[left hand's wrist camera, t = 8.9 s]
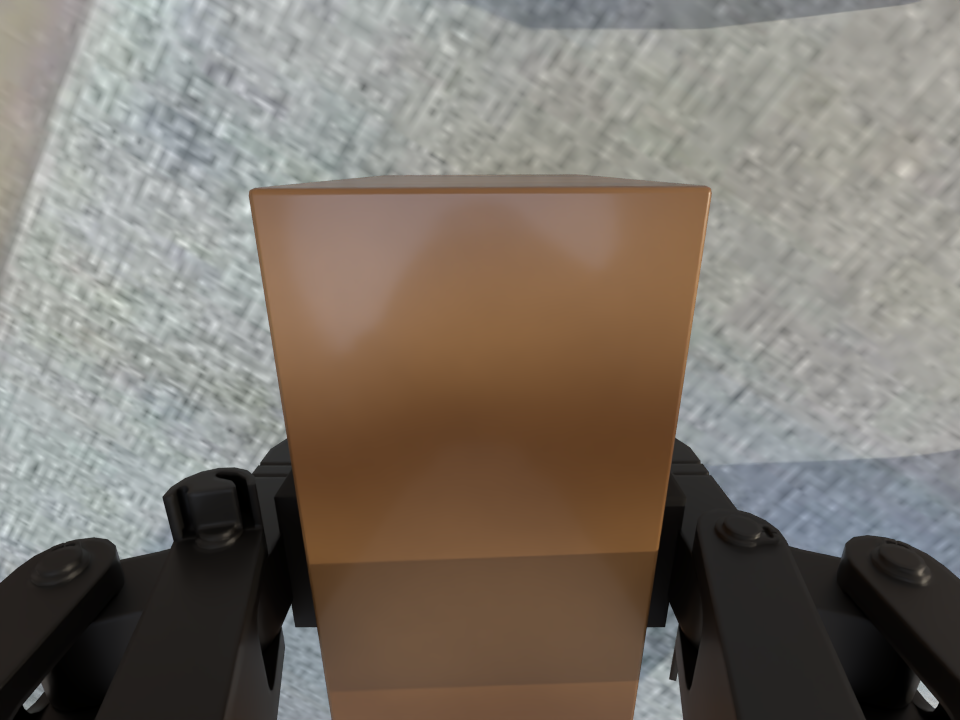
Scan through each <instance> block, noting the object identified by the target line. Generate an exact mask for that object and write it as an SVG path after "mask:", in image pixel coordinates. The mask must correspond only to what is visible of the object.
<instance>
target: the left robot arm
mask: <svg viewBox="0 0 960 720" xmlns="http://www.w3.org/2000/svg"><path fill="white" fill-rule="evenodd" d="M163 501H164V505H165V509H166V513H167V517H168V521H169V525H170V528H171V532H172V536H173V540H174V542H173V544H172V546H171V549H167V550H163V551H160V552H155V553H151V554H146V555H141V556H136V557H131V558H127V559H122V560H120V559H119V555H118V552H117V549H116V546H115V545H114V544H113V543H112V542H110V541H109V540H108V539H102V538H95V537H93V538H85V539H77V540H72V541H68V542H66V543H61V544H59V545H56V546H53V547H51V548H50V549H48V550H46V551H44V552H42V553H40V554H37V555H35V556H34V557H32V558H31V559H29V560H28V561H27V562H25V563H24V564H22V565H21V566H20V567H18V568H17V569H16V570H15V571H13V572H12V573H11V574H10V575H9V576H8V577H7V578H5V579H4V580H3V581H2V582H1V583H0V720H277V714H278V705H279V696H280V687H281V678H282V669H283V660H284V651H285V644H284V637H283V631H282V624H283V622H284V620H285V617H286V615H287V613H288V610H289V608H290V606H291V604H292V610H293V616H294V622H295V627H317V623H316V617H315V611H314V604H313V598H312V592H311V585H310V579H309V573H308V566H307V560H306V554H305V547H304V541H303V535H302V528H301V522H300V516H299V509H298V503H297V497H296V490H295V484H294V478H293V472H292V465H291V459H290V453H289V446H288V440H287V439H285V440H284V441H282V442H281V443H279V444H278V445H276V446H275V447H273V448H272V449H270V451H269V452H268V453H267V455H266V456H265V457H264V459H263V460H262V461H261V463H260V466H258V467H257V468H256V469H255V471H254V472H253V473H252V474H251V473H250V472H249V471H248V470H244V469H239V468H235V467H234V468H217V469H212V470H207V471H203V472H200V473H197V474H195V475H192V476H190V477H187V478H185V479H183V480H181V481H180V482H178V483H177V484H175V485H174V486H172V487H171V488H170V489H169V490H168V491H167V492H166V493H165V495H164V496H163ZM669 602H670V605H671V607H672V609H673V611H674V614H675V616H676V618H677V621H678V623H679V626H678V631H677V637H676V642H675V648H674V653H673V659H672V665H671V671H670V677H669V679H670V680H674V681H676V679H677V673H678V677H679V686H680V695H681V704H682V713H683V720H960V579H959V578H958V577H957V576H955V575H954V574H953V573H952V572H951V571H950V570H948V569H947V568H946V567H945V566H944V565H942V564H941V563H939V562H938V561H937V560H935V559H934V558H932V557H931V556H929V555H928V554H927V553H924V552H922V551H920V550H918V549H916V548H914V547H912V546H910V545H909V544H906V543H903V542H901V541H895V540H894V539H890V538H886V537H878V536H870V535H865V536H858V537H853V538H852V539H851V540H849V541H848V542H847V543H846V544H845V547H844V551H843V554H842V557H841V558H840V557H835V556H830V555H825V554H820V553H816V552H811V551H806V550H801V549H798V548H794V547H790V546H788V543H787V541H786V540H785V538H784V537H783V536H782V534H781V533H780V531H779V530H778V529H776V528H775V527H774V526H772V525H771V524H770V523H768V522H767V521H766V520H764V519H761V518H759V517H757V516H755V515H753V514H750V513H747V512H743V511H739V510H737V509H736V507H735V506H734V505H733V503H732V502H731V501H730V499H729V498H728V497H727V496H726V494H725V493H724V492H723V490H722V489H721V488H720V486H719V485H718V484H717V482H716V481H715V480H714V478H713V477H712V476H711V475H709V472H708V470H707V469H706V468H705V466H704V465H703V464H701V463H700V460H699V459H698V457H697V456H696V455H695V453H694V452H693V451H692V449H691V448H690V447H689V446H687V445H685V444H684V443H682V442H681V441H679V440H678V439H676V438H675V442H674V448H673V455H672V462H671V468H670V475H669V482H668V488H667V495H666V502H665V508H664V515H663V522H662V529H661V535H660V542H659V549H658V555H657V562H656V569H655V575H654V582H653V589H652V595H651V602H650V609H649V615H648V622H647V627H665V624H666V618H667V612H668V606H669ZM920 680H921V681H922V683H923V684H924V685H925V686H926V687H927V688H928V690H929V691H930V692H931V693H932V694H933V696H934V697H935V698H936V699H937V700H938V701H939V704H938V706H937V707H936V709H935V708H933V707H932V706H931V705H930V704H929V703H928V702H927V701H926V700H925V699H924V698H923V696H922V695H921V694H920V693H919V692H918V690H917V687H918V685H919V683H920ZM40 683H41V684H42V686H43V688H44V691H45V692H44V693H43V694H42V695H41V696H40V698H39V699H38V700H37V701H36V702H35V703H34V704H33V705H32V706H31V707H30V708H29V709H28V710H25V709H24V707H23V704H24V702H25V701H26V700H27V699H28V698H29V696H30V695H31V694H32V693H33V692H34V690H35V689H36V688H37V687H38V686H39V685H40Z"/></svg>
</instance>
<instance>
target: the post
mask: <svg viewBox="0 0 960 720" xmlns="http://www.w3.org/2000/svg"><path fill="white" fill-rule="evenodd" d="M711 194H712V193H711V188H709V187H707V186H702V185H691V184H679V183H668V182H656V181H645V180H634V179H622V178H611V177H599V176H588V175H577V174H563V175H384V176H373V177H363V178H352V179H342V180H332V181H321V182H311V183H301V184H290V185H280V186H270V187H259V188H254V189H252V190H250V191H249V200H250V206H251V212H252V219H253V225H254V231H255V238H256V244H257V250H258V257H259V263H260V269H261V275H262V282H263V288H264V294H265V301H266V307H267V313H268V320H269V326H270V332H271V339H272V345H273V351H274V358H275V364H276V370H277V377H278V383H279V389H280V396H281V402H282V408H283V415H284V421H285V427H286V434H287V440H288V446H289V453H290V459H291V465H292V472H293V478H294V484H295V490H296V497H297V503H298V509H299V516H300V522H301V528H302V535H303V541H304V547H305V554H306V560H307V566H308V573H309V579H310V585H311V592H312V598H313V604H314V611H315V617H316V623H317V630H318V636H319V642H320V649H321V655H322V661H323V668H324V674H325V680H326V687H327V693H328V699H329V705H330V712H331V718H332V720H633V716H634V709H635V702H636V696H637V689H638V682H639V676H640V669H641V662H642V655H643V649H644V642H645V635H646V629H647V622H648V615H649V609H650V602H651V595H652V589H653V582H654V575H655V569H656V562H657V555H658V549H659V542H660V535H661V529H662V522H663V515H664V508H665V502H666V495H667V488H668V482H669V475H670V468H671V462H672V455H673V448H674V442H675V435H676V428H677V422H678V415H679V408H680V402H681V395H682V388H683V382H684V375H685V368H686V361H687V355H688V348H689V341H690V335H691V328H692V321H693V315H694V308H695V301H696V295H697V288H698V281H699V275H700V268H701V261H702V255H703V248H704V241H705V235H706V228H707V221H708V214H709V208H710V201H711Z"/></svg>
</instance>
